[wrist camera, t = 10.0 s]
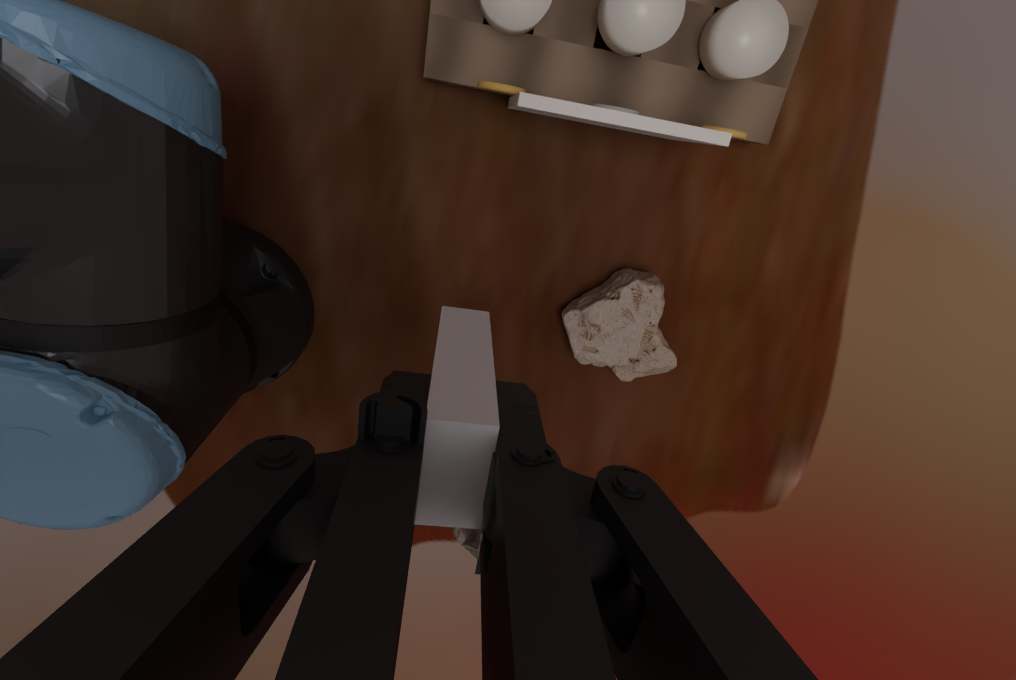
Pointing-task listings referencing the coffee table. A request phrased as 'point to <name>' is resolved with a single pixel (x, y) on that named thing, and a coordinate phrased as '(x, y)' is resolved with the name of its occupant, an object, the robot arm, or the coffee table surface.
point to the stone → (621, 326)
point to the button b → (638, 24)
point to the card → (612, 117)
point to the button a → (514, 14)
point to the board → (613, 64)
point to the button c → (744, 39)
